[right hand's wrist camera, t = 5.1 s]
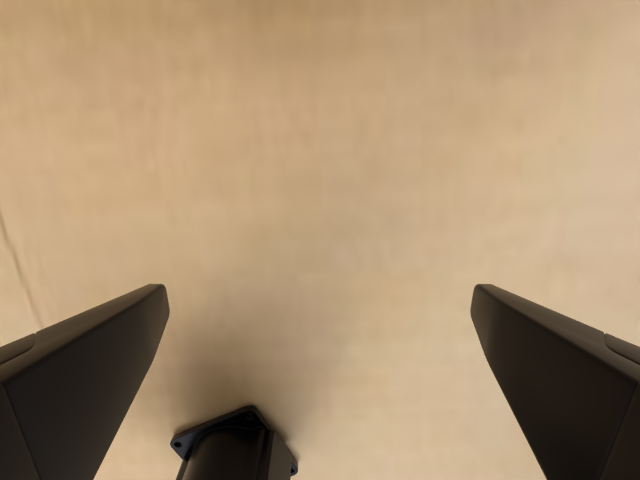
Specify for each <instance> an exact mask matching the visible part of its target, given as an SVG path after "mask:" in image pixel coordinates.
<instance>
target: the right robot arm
mask: <svg viewBox="0 0 640 480" xmlns="http://www.w3.org/2000/svg"><path fill="white" fill-rule="evenodd" d="M169 312H170V311H169V303H168V298H167V292H166V288H165V286H164V285H163V284H149V285H146V286H144V287H141V288H139V289H137V290H134V291H132V292H130V293H127V294H125V295H123V296H120V297H118V298H115V299H113V300H111V301H108V302H106V303H104V304H101V305H99V306H97V307H94V308H92V309H90V310H87V311H85V312H83V313H80V314H78V315H75V316H73V317H71V318H68V319H66V320H64V321H61V322H59V323H57V324H54V325H52V326H50V327H47V328H45V329H43V330H40V331H38V332H36V334H35V333H33V334H31V335H28V336H26V337H24V338H21V339H19V340H16V341H14V342H12V343H9V344H7V345H4V346H2V347H0V480H93V479H94V477H95V475H96V473H97V471H98V469H99V467H100V465H101V463H102V461H103V459H104V457H105V455H106V453H107V451H108V449H109V447H110V445H111V443H112V441H113V439H114V437H115V435H116V433H117V431H118V429H119V427H120V425H121V423H122V421H123V419H124V417H125V415H126V413H127V411H128V409H129V407H130V405H131V403H132V401H133V399H134V397H135V395H136V393H137V391H138V389H139V388H140V386H141V384H142V382H143V380H144V378H145V376H146V374H147V372H148V370H149V368H150V366H151V363H152V361H153V359H154V356H155V354H156V351H157V348H158V346H159V343H160V340H161V337H162V335H163V332H164V329H165V326H166V323H167V321H168V318H169ZM470 312H471V318H472V321H473V323H474V326H475V329H476V332H477V335H478V337H479V340H480V343H481V346H482V348H483V351H484V354H485V356H486V359H487V361H488V363H489V366H490V368H491V370H492V372H493V374H494V376H495V378H496V380H497V382H498V384H499V386H500V388H501V389H502V391H503V393H504V395H505V397H506V399H507V401H508V403H509V405H510V407H511V409H512V411H513V413H514V415H515V417H516V419H517V421H518V423H519V425H520V427H521V429H522V431H523V433H524V435H525V437H526V439H527V441H528V443H529V445H530V447H531V449H532V451H533V453H534V455H535V457H536V459H537V461H538V463H539V465H540V467H541V469H542V471H543V473H544V475H545V477H546V479H547V480H640V347H638V346H636V345H633V344H631V343H628V342H626V341H624V340H621V339H619V338H616V337H614V336H612V335H609V334H607V333H605V334H604V332H602V331H600V330H597V329H595V328H593V327H590V326H588V325H586V324H583V323H581V322H579V321H576V320H574V319H572V318H569V317H567V316H565V315H562V314H560V313H557V312H555V311H553V310H550V309H548V308H546V307H543V306H541V305H539V304H536V303H534V302H532V301H529V300H527V299H524V298H522V297H520V296H517V295H515V294H513V293H510V292H508V291H506V290H503V289H501V288H499V287H496V286H494V285H491V284H477V285H476V286H475V288H474V292H473V298H472V303H471V311H470ZM248 413H250V414H248ZM170 445H171V447H172V448H173V449H174V450H175V451H176V453H177V454H178V455H179V456H180V457H181V458H182V459H183V462H182V464H181V467H180V470H179V473H178V475H177V478H176V480H290V476H293V475H295V474H297V472H298V463H297V462H296V460H295V459H294V458H293V456H292V453H291V452H290V450H289V449H288V448H287V446H286V445H285V444H284V442H283V441H282V440H281V438H280V437H279V436H278V434H277V433H276V431H274V430H273V429H272V428H271V427H270V425H269V424H268V423H267V421H266V420H265V419H264V417H263V416H262V414H261V413H260V412H259V410H258V409H257V408H256V407H254V406H246V407H243V408H241V409H238V410H236V411H233V412H231V413H228V414H226V415H223V416H221V417H218V418H216V419H213V420H211V421H208V422H206V423H203V424H201V425H198V426H196V427H193V428H191V429H188V430H186V431H183V432H181V433H178V434H176V435H174V436H173V438H172V440H171V443H170Z"/></svg>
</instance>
